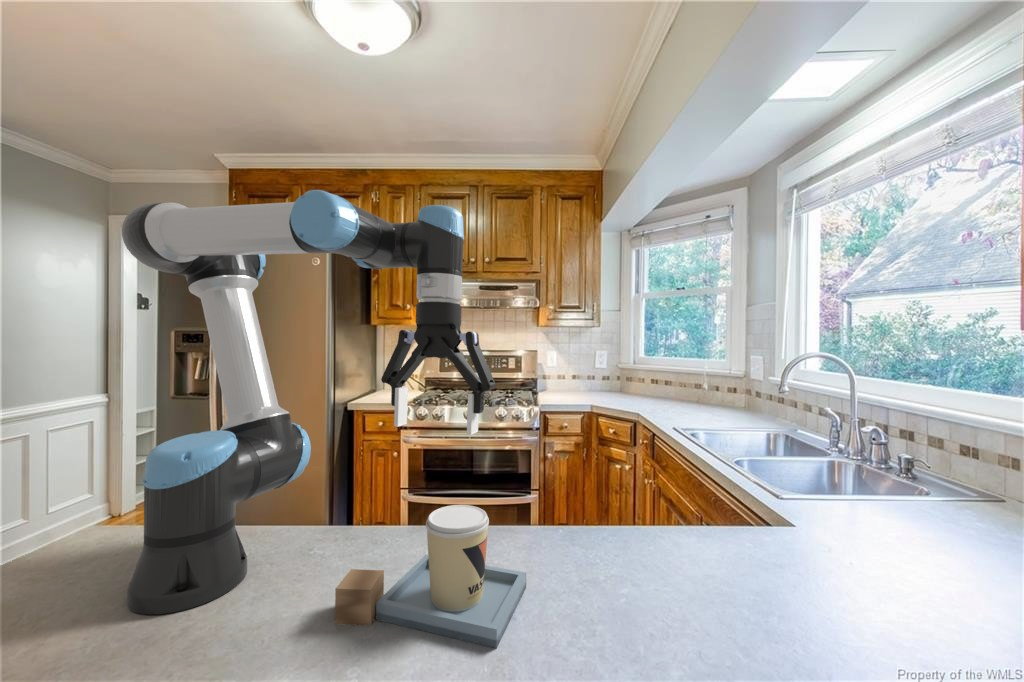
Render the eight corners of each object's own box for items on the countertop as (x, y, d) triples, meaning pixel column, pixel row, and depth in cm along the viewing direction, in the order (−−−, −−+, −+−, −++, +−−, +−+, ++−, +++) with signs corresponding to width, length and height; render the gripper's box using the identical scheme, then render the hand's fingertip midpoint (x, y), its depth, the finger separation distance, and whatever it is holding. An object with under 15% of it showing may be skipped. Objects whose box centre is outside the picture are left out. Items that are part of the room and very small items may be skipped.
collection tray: (375, 619, 59) (376, 602, 59) (425, 568, 72) (425, 554, 72) (496, 648, 54) (496, 629, 54) (526, 587, 67) (526, 572, 67)
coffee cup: (478, 620, 58) (478, 532, 58) (414, 610, 60) (415, 525, 60) (495, 582, 67) (495, 506, 67) (439, 575, 69) (440, 501, 69)
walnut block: (335, 624, 58) (335, 588, 58) (350, 602, 63) (351, 569, 63) (370, 626, 58) (370, 589, 58) (383, 604, 63) (383, 570, 63)
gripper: (362, 300, 71) (358, 426, 71) (500, 299, 63) (496, 442, 63) (389, 304, 78) (386, 418, 78) (517, 304, 70) (513, 432, 70)
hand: (435, 429), depth 70 cm, fingers open, 13 cm apart
